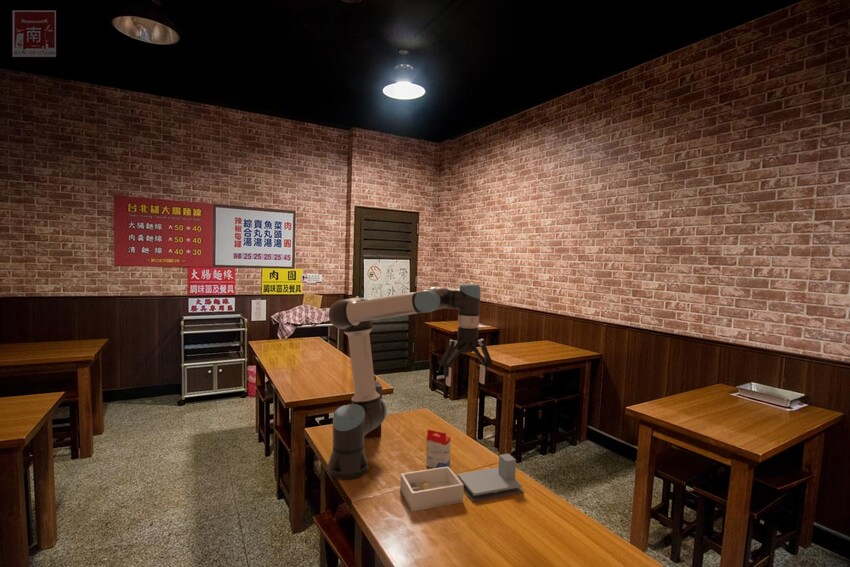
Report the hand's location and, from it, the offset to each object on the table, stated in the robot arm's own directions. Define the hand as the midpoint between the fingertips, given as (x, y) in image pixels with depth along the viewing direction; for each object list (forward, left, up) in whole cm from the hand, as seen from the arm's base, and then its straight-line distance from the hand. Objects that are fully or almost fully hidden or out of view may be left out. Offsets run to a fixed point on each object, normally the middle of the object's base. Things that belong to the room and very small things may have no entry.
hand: (465, 384), depth 153 cm
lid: (+7, -8, -35) cm, 37 cm away
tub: (-15, -8, -35) cm, 39 cm away
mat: (+7, -8, -35) cm, 37 cm away
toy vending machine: (-24, +49, -36) cm, 66 cm away
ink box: (-5, +11, -36) cm, 38 cm away
